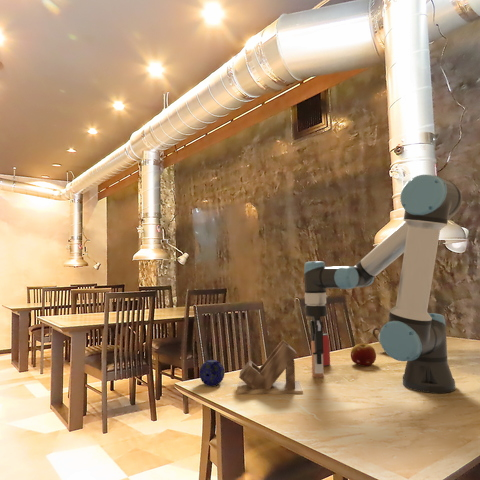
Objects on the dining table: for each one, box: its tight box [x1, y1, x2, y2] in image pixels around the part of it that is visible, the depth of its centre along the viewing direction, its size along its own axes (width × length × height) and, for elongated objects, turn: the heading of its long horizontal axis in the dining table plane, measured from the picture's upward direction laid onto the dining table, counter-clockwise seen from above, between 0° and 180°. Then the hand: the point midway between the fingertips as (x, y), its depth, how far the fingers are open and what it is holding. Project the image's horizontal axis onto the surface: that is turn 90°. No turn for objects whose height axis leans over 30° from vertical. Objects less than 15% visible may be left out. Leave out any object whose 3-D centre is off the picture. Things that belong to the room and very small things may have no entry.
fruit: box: [350, 343, 377, 367], centre depth 158 cm, size 10×9×8 cm
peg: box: [310, 340, 325, 379], centre depth 143 cm, size 4×4×12 cm
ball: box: [199, 359, 225, 387], centre depth 135 cm, size 8×8×8 cm
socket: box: [236, 339, 304, 395], centre depth 129 cm, size 20×11×16 cm, turn 88°
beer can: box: [323, 332, 331, 367], centre depth 160 cm, size 7×7×12 cm
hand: (317, 371), depth 143 cm, fingers open, 4 cm apart
